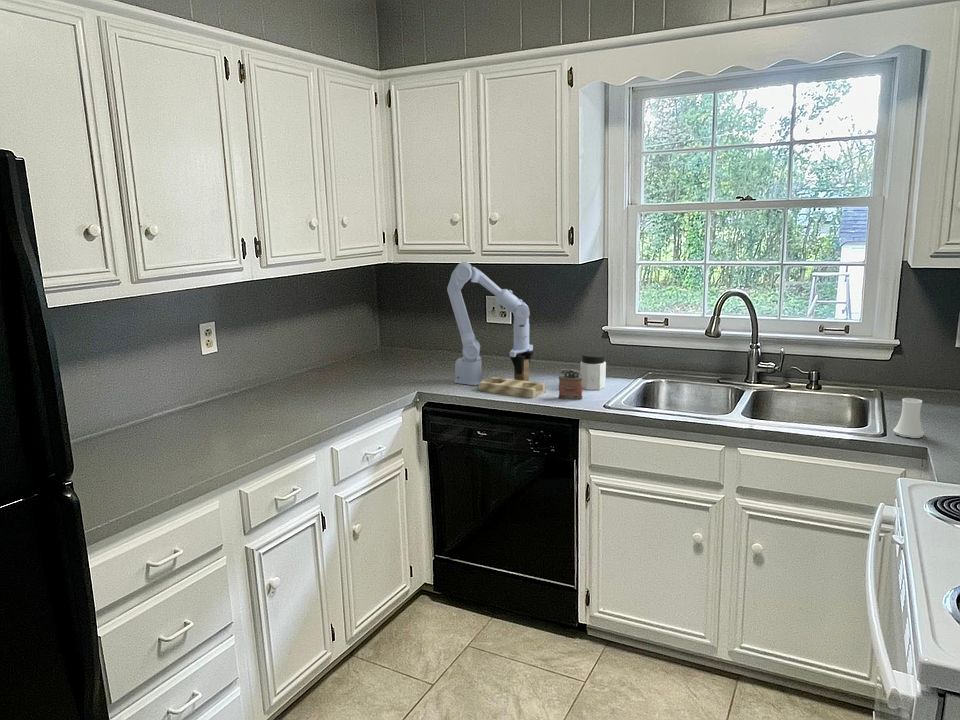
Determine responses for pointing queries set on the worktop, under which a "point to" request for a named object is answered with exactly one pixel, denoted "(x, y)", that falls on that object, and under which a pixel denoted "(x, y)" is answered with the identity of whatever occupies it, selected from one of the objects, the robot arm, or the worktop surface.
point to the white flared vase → (910, 418)
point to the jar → (593, 370)
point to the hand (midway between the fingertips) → (521, 372)
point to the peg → (523, 372)
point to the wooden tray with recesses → (512, 387)
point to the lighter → (570, 385)
